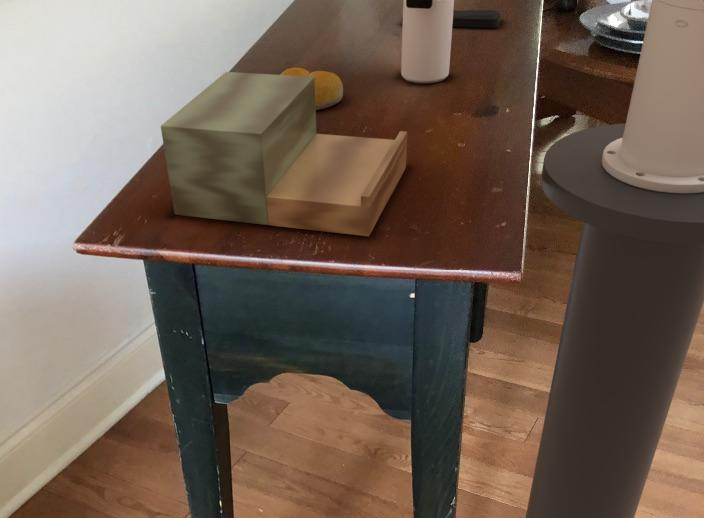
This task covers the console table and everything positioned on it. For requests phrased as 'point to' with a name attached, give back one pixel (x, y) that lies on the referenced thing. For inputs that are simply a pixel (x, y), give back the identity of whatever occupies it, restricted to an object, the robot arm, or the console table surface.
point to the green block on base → (275, 159)
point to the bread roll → (321, 86)
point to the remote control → (476, 18)
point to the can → (427, 42)
